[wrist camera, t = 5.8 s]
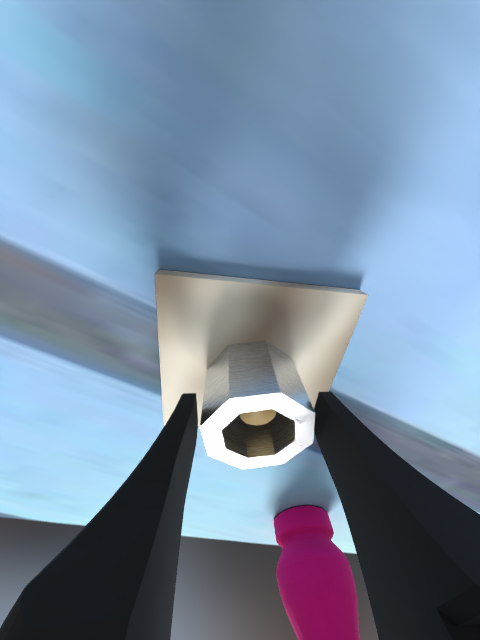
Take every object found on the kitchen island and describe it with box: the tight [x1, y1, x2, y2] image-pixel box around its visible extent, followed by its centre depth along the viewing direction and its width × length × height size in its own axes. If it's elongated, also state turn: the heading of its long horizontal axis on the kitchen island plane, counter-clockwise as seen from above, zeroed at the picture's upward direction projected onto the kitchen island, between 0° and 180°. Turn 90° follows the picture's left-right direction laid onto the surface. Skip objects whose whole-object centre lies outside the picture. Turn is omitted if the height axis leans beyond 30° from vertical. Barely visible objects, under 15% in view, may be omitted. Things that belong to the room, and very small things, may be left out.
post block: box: [155, 270, 368, 427], centre depth 13 cm, size 11×11×4 cm
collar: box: [200, 340, 315, 469], centre depth 12 cm, size 5×5×4 cm
